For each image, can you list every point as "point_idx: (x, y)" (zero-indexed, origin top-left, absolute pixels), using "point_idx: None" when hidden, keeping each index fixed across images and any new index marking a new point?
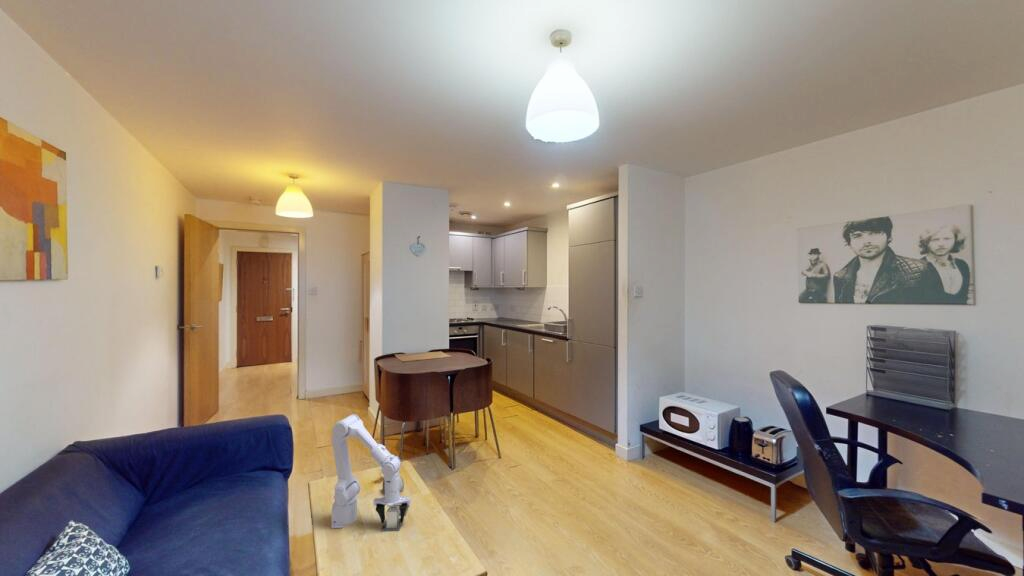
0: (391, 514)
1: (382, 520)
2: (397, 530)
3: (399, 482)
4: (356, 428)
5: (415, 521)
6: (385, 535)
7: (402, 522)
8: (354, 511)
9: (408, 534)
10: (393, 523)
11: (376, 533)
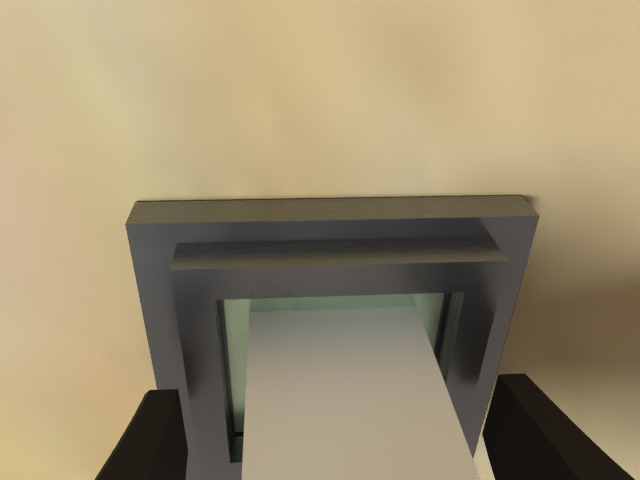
0: None
1: (537, 412)
2: (206, 249)
3: None
4: None
5: (51, 446)
6: (407, 184)
7: (144, 395)
8: None
9: (5, 198)
10: (308, 368)
11: (556, 232)
